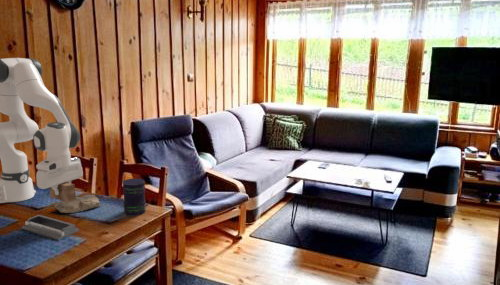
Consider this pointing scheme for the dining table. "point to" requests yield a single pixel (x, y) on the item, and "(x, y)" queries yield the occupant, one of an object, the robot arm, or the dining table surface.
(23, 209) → the dining table surface
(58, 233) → the grey rectangular tray
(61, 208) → the grey brown rock
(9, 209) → the dining table surface
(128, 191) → the storage jar
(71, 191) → the wooden block
